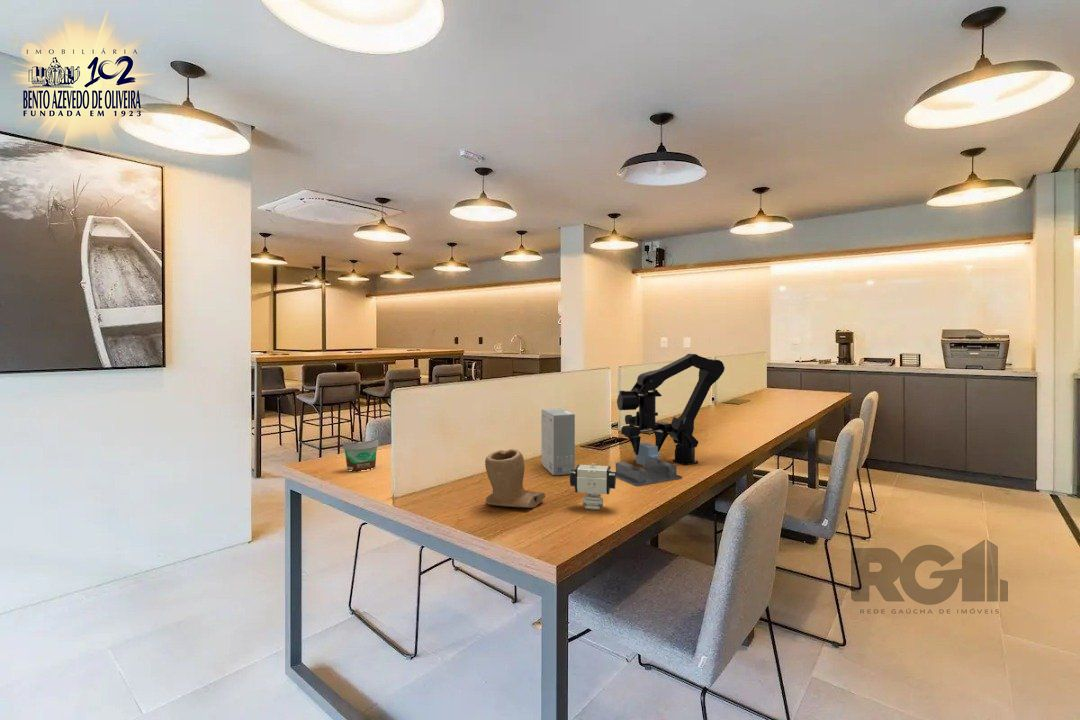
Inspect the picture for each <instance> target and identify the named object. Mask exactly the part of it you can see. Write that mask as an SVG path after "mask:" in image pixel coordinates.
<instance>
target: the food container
mask: <svg viewBox="0 0 1080 720" xmlns="http://www.w3.org/2000/svg"><path fill="white" fill-rule="evenodd" d="M379 445H380V443H379V440H378V438H377V437H375V439H374V440H366V441H365V440H361V441H357V442H351V443H349V442H343V444H342V450H343V449H344V456H345V461H346V469H347V470H352V471H361V470H367V469H371V468H374V467H375V468H376V464H377V463H376V461H377V450H378V449H377V448H378V446H379ZM375 468H374V469H375Z"/></svg>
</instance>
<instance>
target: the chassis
mask: <svg viewBox="0 0 1080 720" xmlns="http://www.w3.org/2000/svg"><path fill="white" fill-rule="evenodd" d="M615 472H616V479H619V480H621V481H623V482H625V483H628V484H629V485H632V486H635V487H641V486H648V485H652V484H658V483H659V484H660V483H665V482H670V480H671V481H676V480H675V479H677V480H681V479H680V478H682V479H683V476H681V475H679V474H677V465H675V464H672V463H670V462H667V461H663V460H662V459H659V458H658V459H655V458H653V457H651V458H645V466H644V467H638V466H637V465H633V464H630V463H628V462H626V461H618V462H615Z"/></svg>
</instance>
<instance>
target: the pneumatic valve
mask: <svg viewBox="0 0 1080 720" xmlns="http://www.w3.org/2000/svg"><path fill="white" fill-rule="evenodd" d="M616 481H617V478H616V471H612V469H611V465H598V464H597V465H596V463H595V462H594V463H593V462H591V464H577V465H576V466H575V470H571V472H570V474H569V485H570V487H573V488H574V489H575V491H574V492H575V493H580V494H581V493H582V494H583V493H584V494H585V493H586V496H585V495H584V496H582V506H585V509H586V510H591V511H593V510H594V511H599V510H600V509H601V508H603V507H604V497H602V495H610V492H611V489H612V490H615V489H616V485H617V483H616Z"/></svg>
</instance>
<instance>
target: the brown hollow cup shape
mask: <svg viewBox="0 0 1080 720" xmlns="http://www.w3.org/2000/svg"><path fill="white" fill-rule="evenodd" d="M484 465H485V470H486V471H485V472H486V474H487V478H488V480H489V483H490V485H491V488H492V493H491V494H489V495H487V496H486V497H485V503H486V504H487V505H489V506H498V507H509V508H510V507H511V508H528V509H529V508H536V507H537V506H538V505H539V504H541V502H542V501H543V500H544V498H545V497H546V493H545V492H543V491H531V490H525V488H524V484H523V483H524V476H525V458H524V456H523V454H522V452H521V451H520V450H518V449H514V448H512V449H511V448H510V449H507V450H502V449H501V450H496V451H493V452H492V453H490V454H488V455H487V456H486V458H485V461H484Z"/></svg>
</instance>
